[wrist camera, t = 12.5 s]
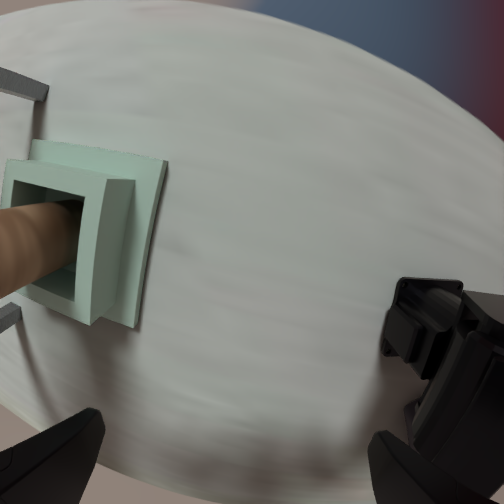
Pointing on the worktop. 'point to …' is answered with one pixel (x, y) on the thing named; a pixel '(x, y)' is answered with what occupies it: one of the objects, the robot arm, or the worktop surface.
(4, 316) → the grey table frame
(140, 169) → the socket block
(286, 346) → the worktop surface
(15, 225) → the peg
